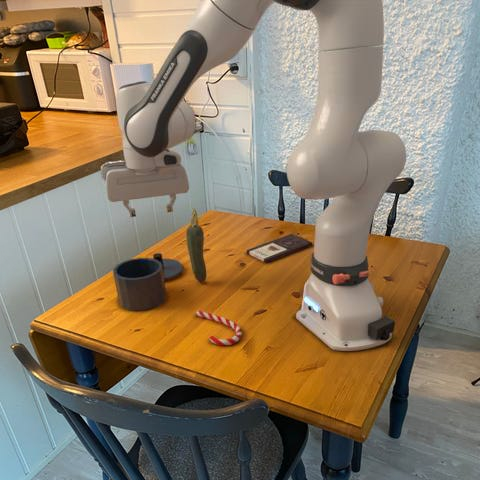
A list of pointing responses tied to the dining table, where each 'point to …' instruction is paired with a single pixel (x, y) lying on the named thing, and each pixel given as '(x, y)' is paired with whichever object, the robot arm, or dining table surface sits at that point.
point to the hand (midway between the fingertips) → (151, 213)
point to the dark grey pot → (140, 284)
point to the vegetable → (196, 248)
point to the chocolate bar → (279, 248)
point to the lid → (169, 266)
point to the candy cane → (226, 322)
